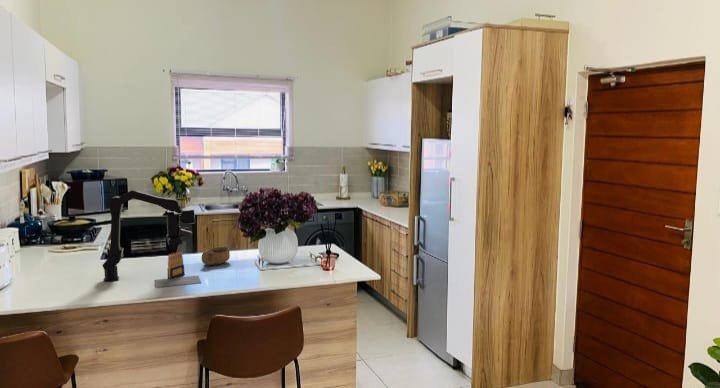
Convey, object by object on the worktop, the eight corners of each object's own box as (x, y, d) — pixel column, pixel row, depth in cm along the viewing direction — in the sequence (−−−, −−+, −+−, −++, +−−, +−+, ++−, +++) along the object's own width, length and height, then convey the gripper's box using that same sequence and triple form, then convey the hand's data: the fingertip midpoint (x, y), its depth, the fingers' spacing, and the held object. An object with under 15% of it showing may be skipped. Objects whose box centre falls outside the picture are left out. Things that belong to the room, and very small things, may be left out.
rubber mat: (154, 280, 261) (154, 279, 261) (198, 276, 269) (198, 275, 269) (155, 287, 248) (155, 287, 248) (201, 283, 256) (201, 282, 256)
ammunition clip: (170, 279, 261) (169, 254, 261) (167, 279, 262) (166, 254, 261) (184, 274, 272) (183, 250, 271) (181, 274, 272) (180, 250, 271)
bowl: (223, 266, 283) (217, 247, 282) (199, 272, 286) (193, 254, 285) (236, 258, 300) (231, 240, 300) (213, 264, 303) (208, 247, 302)
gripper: (192, 226, 263) (193, 258, 265) (188, 220, 280) (190, 250, 282) (167, 227, 259) (169, 260, 261) (165, 222, 276) (167, 252, 278)
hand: (174, 255), depth 270 cm, fingers closed
